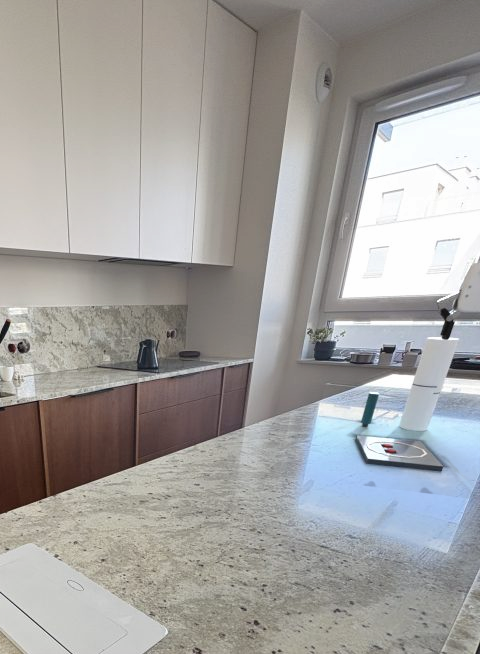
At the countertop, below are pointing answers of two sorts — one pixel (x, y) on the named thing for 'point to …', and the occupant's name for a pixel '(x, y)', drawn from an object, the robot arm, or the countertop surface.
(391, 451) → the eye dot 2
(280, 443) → the countertop surface
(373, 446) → the slate board
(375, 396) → the marker
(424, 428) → the cylindrical container
